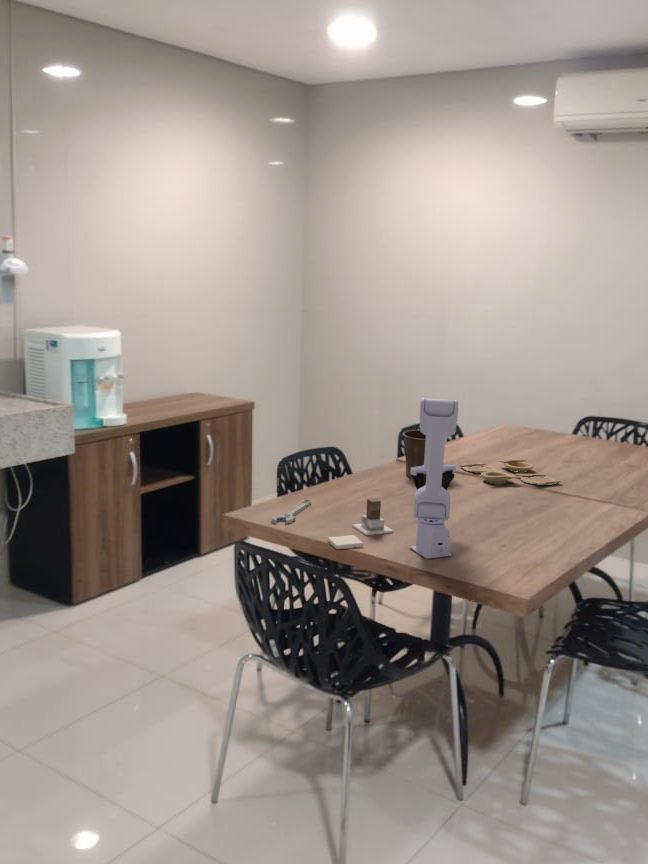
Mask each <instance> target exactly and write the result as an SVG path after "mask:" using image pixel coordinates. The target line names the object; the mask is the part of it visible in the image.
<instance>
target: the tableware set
mask: <svg viewBox="0 0 648 864" xmlns="http://www.w3.org/2000/svg"><path fill="white" fill-rule="evenodd" d="M498 462H499V463H502V464H503V466H504V467H506V468H508V471H509V470H512V471H518V472H525V471H527V472H528V471H529V470H532V469H534V467H535V466H534V464H532V463H529V462H527V459H526V458H520V459H518V458H517V459H499V460H498ZM472 466H481V467H487V468H490V469H492V470H487V469H483V470H473V469H469V467H472ZM459 467H462V469H463V470H464V471H465V470H466V471H465V472H468V471H470V472H469V473H472V472H475V473H474V474H479V473H481V474H480V475H481V477H483V478H485V480H486V483H488V482H490V483H489V484H492V483H494V484H493V485H504V483H505V484H506V483H507V482H508V480H512V479H516V478H517V479H518V477H520V481H521V480H522V481H523V483H524V482H526V483H525V484H527V483H530V484H529V485H532V484H537V485H536V486H539V485H552V484H555V483H557V484H558V483H562V480H561V479H555V478H552V477H548V476H547V475H546V474H545V473H514V475H513V474H510V473H507V472H504V471H502V470H498V469H497V468H496V467H494V466H490V465H487V463H486V462H482V461H480V462H479V461H477V462H476V463H463V464H459ZM530 477H541V478H547V479H550V480H551V481H545V482H540V481H538V482H532V481H529V480H527V478H530ZM522 481H521V482H522ZM552 486H553V485H552Z"/></svg>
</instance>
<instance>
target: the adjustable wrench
mask: <svg viewBox="0 0 648 864" xmlns="http://www.w3.org/2000/svg"><path fill="white" fill-rule="evenodd" d="M310 504H311V505H312V501H311V500H310V499H303V500H302V501H301V502H299V503H297V504H296V505H295V506H293V507H292V508H291V509H289V510H288V511H287V512H284V513H280V514H276V515H272V516H271V523H272V524H274V525H277V524H278V523H277V522H285V525H289V524H288V523H290V524H292V522H293V521H294V522H296V515H298V514H299V513H301V512H302V511H303V510H305V509H306V508H307V507H309V506H310ZM297 513H298V514H297ZM294 515H295V516H294ZM294 522H293V523H294Z"/></svg>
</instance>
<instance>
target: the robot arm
mask: <svg viewBox="0 0 648 864" xmlns="http://www.w3.org/2000/svg"><path fill="white" fill-rule="evenodd" d="M458 416H459V401H458V399H444V398H443V399H439V398H426V397H422V398H421V400H420V407H419V430H420V432H421V433H423V434H424V435H426V442H425V457H424V465H422V466H418V467H412V468H411V471H410V474H411V476H412V478H411V479H412V480H413V482H414V485H415V489H416V491H415V493H414V499H413V500H414V501H413V503H414V504H413V517H414V519H417V527H416V540H415V541H416V542H415V545H410V546H409V549H410V550H413V552H416V553H417V554H419V555H420V556H422V557H424V559H427V560H428V559H437V558H443V557H450V556H452V553H451V552H450V540H451V533H450V531H449V528H447V527H446V525H445V523H446V522H447V521H448V520H449V519H450V514H451V513H450V511H451V494H450V492H449V491H448V490H449V489H448V488H449V487H450V484H451V482H452V481H453V480H454V478H455V473H456V471H457V466H456V465H455V464H445V462H444V461H445V451H446V450H445V449H446V448H445V447H446V444H447V441H448V438H450V437H451V436H453V435H455V433H456V430H457V422H458ZM423 474H427V475H426V477H424V475H423Z"/></svg>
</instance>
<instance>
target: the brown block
mask: <svg viewBox="0 0 648 864" xmlns="http://www.w3.org/2000/svg"><path fill="white" fill-rule="evenodd" d="M381 503H382V502H381V499H379V498H377V497H373V498H372V497H371V498H367V499H366V514H363V515H361V521H360V522H361V523H360V524H361V525H362V526H364V527H365V528H367V529H368V530H370V531H377V530H384V525H385V519H384V518H382V517H381V508H382V507H381V505H382V504H381Z"/></svg>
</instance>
